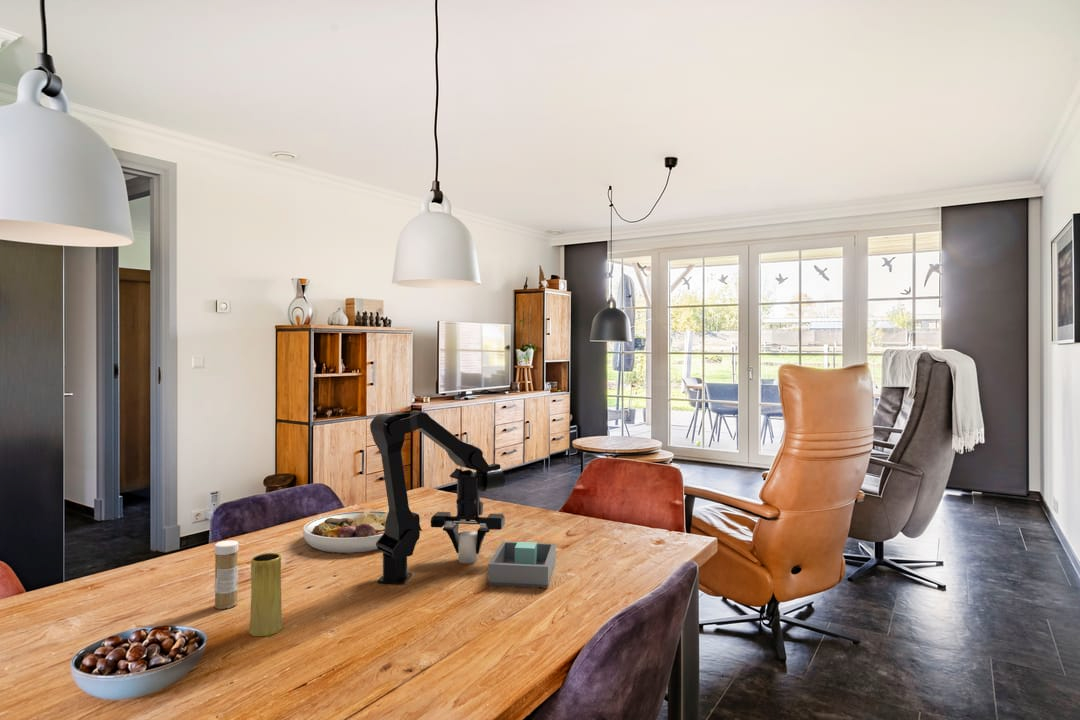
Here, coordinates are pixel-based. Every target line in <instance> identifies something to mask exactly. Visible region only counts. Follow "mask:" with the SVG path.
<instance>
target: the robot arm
mask: <svg viewBox="0 0 1080 720" xmlns="http://www.w3.org/2000/svg"><path fill="white" fill-rule="evenodd" d="M369 425H370V426H369V430H370V434H371V436H372V439H373V442H374V444H375V445H376V448H377V449H378V450H379V453H380V456H381V464H382V470H383V476H384V483H385V484H384V485H385V490H386V498H387V505H388V511H389V512H388V511H387V512H388V515H387V518H386V527H385V532H384V534H383V535H382V536H381V538H380V539H379V540H378V541H377V543H376V546H377V549H378V550H377V552H381V553H382V575H381V576H380V577H379V578H378V579H377V581H376V582H377V583H379V584H397V585H398V584H399V585H403V584H405V583H406V582H407V581H408V580H409V579H410V578H411V576H412V575H413V573H412V572H409V571H408V557H411V556H413V554H414V550H415V547H416V544H417V543H418V540H420V536H421V535H420V534H421V533H420V532H422V531H423V529H422V527H421V523H420V522H421V521H420V520H421V519H420V515H419V514H418V513H416V512H415V511H411V509H410V505H409V504H410V503H409V497H408V496H409V495H408V490H407V489H408V488H407V485H406V477H405V469H404V461H403V455H402V450H403V448H404V447H403V446H404V443H405V441H406V434H410V433H412V432H416V430H418V431H419V432H421V433H422V434H424V436H425V437H427V438H428V439H430V440H431V441H432V442H434V443H436V445H438V446H439V447H441V448H442V449H443V450H444V451H445V452H446V453H447V455H448V457H449V458H450V460H452V462H453V463H454V464H455V465H456V466H458V467H461V468H465V469H466V470H462V469H461V468H455V469H454V471H453V472H452V473H451V474H449V478H452V479H455V480H456V483H457V485H456V491H457V492H456V494H457V495H456V497H457V498H456V503H455V504H456V515H452V514H451V512H450V511H437V512H435V513H434V514H433V515H432V516H431V518H430V527H431V528H442V531H444V532H446V534H447V535H448V537H449V539H450V540H451V541H450V542H452V545H453V547H454V549H455V550H454V551H455V552H456V554H458V534H459V527H460V525H479V528H478V529H477V531H476V532H477V547H476V551H477V555H479V554H480V551H481V548H482V546H483V545H482V544H483V542H484V538H485V536H486V534H487V533H490V531H491V530H493V531H495V530H498V531H500V530H502V529H503V527H504V526H505V524H506V523H505V522H506V517H505V515H504V514H503V513H489V514H488V515H487V516H482V515H483V512H484V511H483V510H484V502H482V501H481V497H480V491H481V492H486V491H488V492H489V491H492V490H493V491H494V490H499V489H503V488H504V486H505V484H506V476H505V474H504V471H503V470H502V469H501V464H500V463H495V462H494V463H491V464H488V462H487V461H486V459H485V458H484V451H482V449H481V448H480V447H477V446H475V445H473V444H472V443H469V442H466V441H464V440H461V439H459V438H458V437H457V436H455V435H454V434H453V433H452V432H450V431H449V430H447V429H446V428H445V427H444V426H443V425H441V424H440V423H439V422H437V421H436V420H435V419H433V418H432V417H431V416H430V415H429V414H428V413H427V412H425V411H421V410H412V411H410V412H404V413H398V414H397V413H396V414H391V415H390V414H387V413H386V414H384V413H381V414H378V415H376V416H374V418H373V419H372V420H371V422H370V424H369ZM472 470H473V471H472Z"/></svg>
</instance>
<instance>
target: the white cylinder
mask: <svg viewBox="0 0 1080 720" xmlns="http://www.w3.org/2000/svg"><path fill="white" fill-rule="evenodd" d="M476 547H477V531H475V530H465V531H464V530H463V531H460V532H458V553H457V554H458V557H457V558H458V559H457V561H458V562H459V563H461V564H473V563H476V562H477V561H478V554H477V551H476Z"/></svg>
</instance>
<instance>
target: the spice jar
mask: <svg viewBox="0 0 1080 720" xmlns="http://www.w3.org/2000/svg"><path fill="white" fill-rule="evenodd" d="M213 551H214V552H213V553H214V556H215V558H214V559H215V560H214V562H215V565H214V570H215V571H214V572H215V573H214V608H215V609H217V610H226V608H227V609H231V608H234V607H235V606H237V605H238V603H239V601H238V589H239V585H238V584H239V583H238V582H239V580H238V579H239V577H238V576H239V574H238V572H239V571H238V570H239V569H238V566H239V565H238V564H239V563H238V553H239V541H237V540H231V539H230V540H222V541H219V542H216V543H215V544H214V550H213ZM233 606H234V607H233Z"/></svg>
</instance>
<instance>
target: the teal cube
mask: <svg viewBox="0 0 1080 720" xmlns="http://www.w3.org/2000/svg"><path fill="white" fill-rule="evenodd" d="M516 542H517V544H516V546H515V564H530V565H536V563H537V543H538V542H534V541H516Z"/></svg>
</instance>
